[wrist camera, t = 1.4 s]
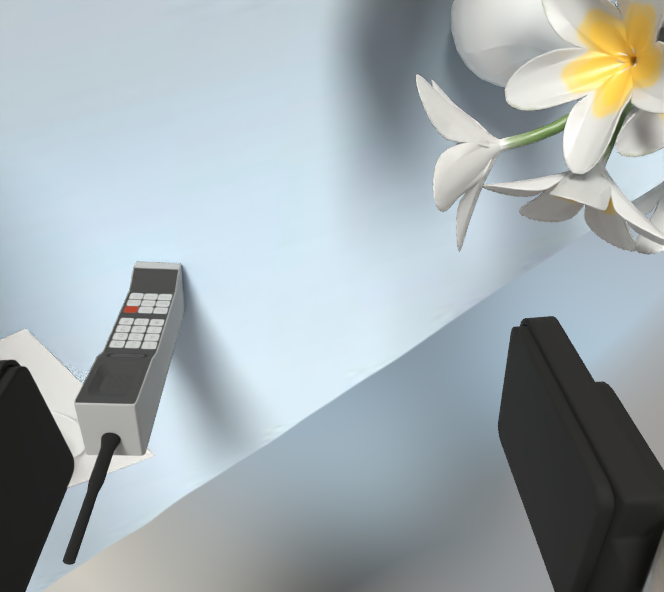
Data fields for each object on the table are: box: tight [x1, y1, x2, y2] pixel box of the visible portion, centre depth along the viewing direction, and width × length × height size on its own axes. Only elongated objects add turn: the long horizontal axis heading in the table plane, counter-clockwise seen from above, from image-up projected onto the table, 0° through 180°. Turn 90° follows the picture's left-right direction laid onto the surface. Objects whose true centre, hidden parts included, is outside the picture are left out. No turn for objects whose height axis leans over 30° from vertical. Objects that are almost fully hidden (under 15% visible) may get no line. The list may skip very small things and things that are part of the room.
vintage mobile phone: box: [63, 261, 185, 565], centre depth 39 cm, size 4×5×25 cm
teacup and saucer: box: [50, 409, 85, 459], centre depth 57 cm, size 9×8×4 cm
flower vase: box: [416, 0, 664, 254], centre depth 28 cm, size 13×18×25 cm
